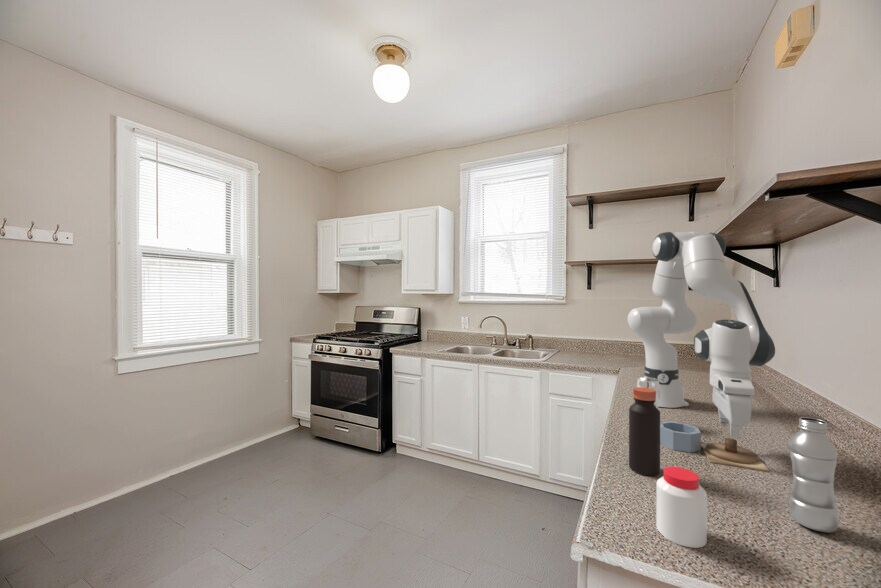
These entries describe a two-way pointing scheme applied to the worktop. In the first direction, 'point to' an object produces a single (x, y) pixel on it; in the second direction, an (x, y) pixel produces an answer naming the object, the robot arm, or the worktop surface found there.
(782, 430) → the worktop surface
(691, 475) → the pill bottle
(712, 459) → the tan flat square piece
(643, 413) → the vinegar
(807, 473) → the plastic bottle
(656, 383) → the beer glass
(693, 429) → the bowl
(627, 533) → the worktop surface
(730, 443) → the lid
